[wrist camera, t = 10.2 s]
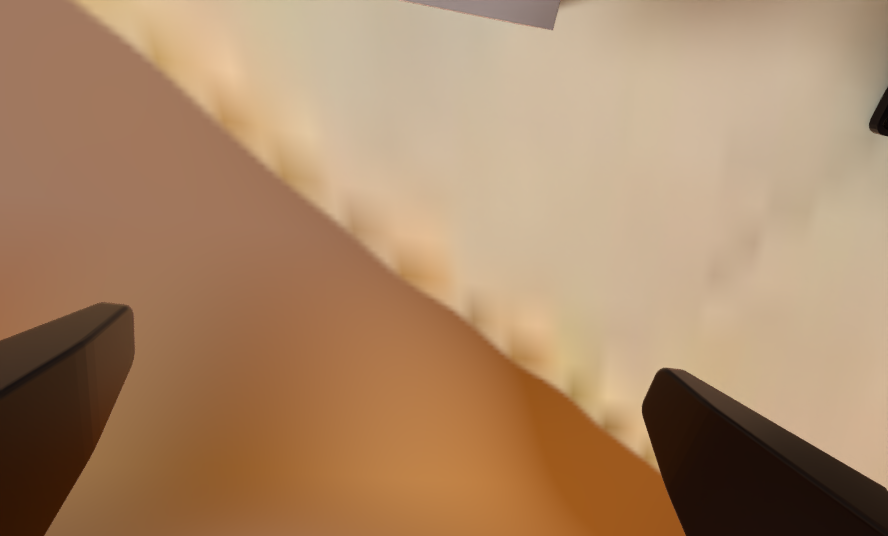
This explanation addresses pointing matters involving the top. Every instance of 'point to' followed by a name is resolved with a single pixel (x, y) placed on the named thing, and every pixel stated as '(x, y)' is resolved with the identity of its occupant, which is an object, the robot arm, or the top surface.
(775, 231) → the top surface
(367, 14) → the top surface
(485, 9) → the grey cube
